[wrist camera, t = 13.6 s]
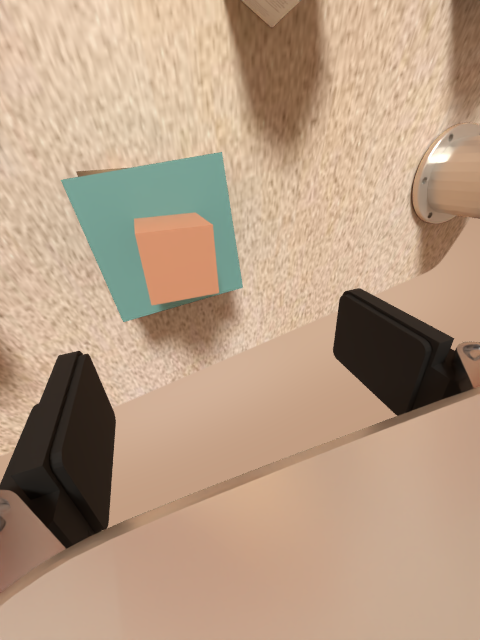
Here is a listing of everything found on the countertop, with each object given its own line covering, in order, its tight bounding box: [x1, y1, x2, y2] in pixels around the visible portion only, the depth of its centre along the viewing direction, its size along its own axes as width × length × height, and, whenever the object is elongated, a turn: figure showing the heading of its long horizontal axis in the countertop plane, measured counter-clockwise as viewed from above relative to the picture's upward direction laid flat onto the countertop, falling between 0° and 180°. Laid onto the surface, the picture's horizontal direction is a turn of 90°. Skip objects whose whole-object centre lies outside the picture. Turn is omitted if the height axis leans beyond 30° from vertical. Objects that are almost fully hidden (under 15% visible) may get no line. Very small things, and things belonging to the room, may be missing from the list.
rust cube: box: [134, 212, 219, 305], centre depth 21 cm, size 5×5×6 cm
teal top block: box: [61, 152, 243, 322], centre depth 25 cm, size 12×12×4 cm
